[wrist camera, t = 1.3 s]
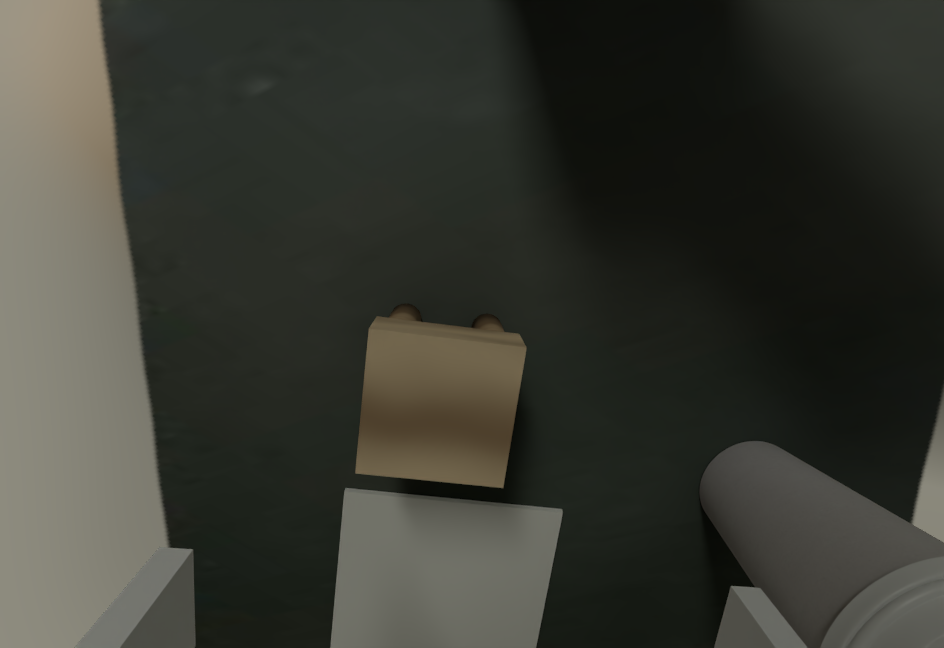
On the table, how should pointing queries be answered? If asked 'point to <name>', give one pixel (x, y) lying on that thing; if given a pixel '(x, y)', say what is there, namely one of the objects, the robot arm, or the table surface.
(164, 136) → the table surface
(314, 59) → the table surface
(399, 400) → the wooden stool
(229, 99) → the table surface
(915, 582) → the coffee cup
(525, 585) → the mat
